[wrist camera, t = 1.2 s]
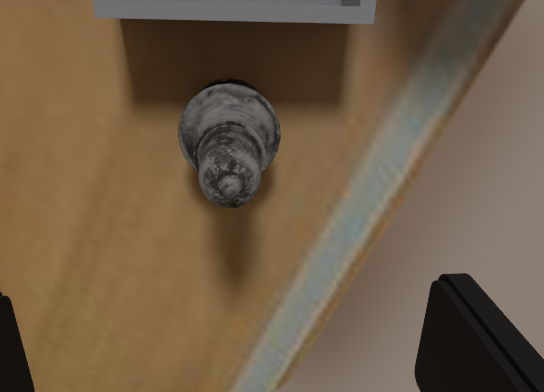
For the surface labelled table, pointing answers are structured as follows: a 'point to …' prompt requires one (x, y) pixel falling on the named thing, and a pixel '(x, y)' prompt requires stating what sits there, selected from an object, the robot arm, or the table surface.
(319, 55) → the table surface
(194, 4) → the box
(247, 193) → the grey pawn
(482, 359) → the robot arm
